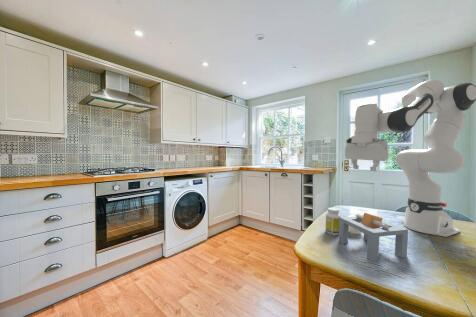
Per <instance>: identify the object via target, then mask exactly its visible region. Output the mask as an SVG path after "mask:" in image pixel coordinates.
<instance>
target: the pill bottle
mask: <svg viewBox="0 0 476 317" xmlns="http://www.w3.org/2000/svg"><path fill="white" fill-rule="evenodd" d="M339 213H340V209H339V208H337V207H328V208H327V213H326V214H325V232H326V233H327V234H329V235H331V236H332V235H333V236H339V218H340V217H342V216H341V214H339Z"/></svg>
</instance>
